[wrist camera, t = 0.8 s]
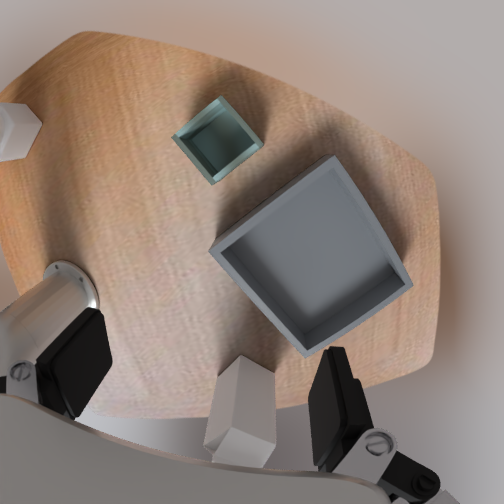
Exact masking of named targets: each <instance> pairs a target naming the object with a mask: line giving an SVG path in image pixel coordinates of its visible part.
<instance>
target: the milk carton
mask: <svg viewBox="0 0 504 504" xmlns="http://www.w3.org/2000/svg"><path fill="white" fill-rule="evenodd" d="M275 446H276V403H275V374H274V373H273V372H271V371H269V370H267V369H266V368H264V367H262V366H260V365H258V364H257V363H255V362H253V361H251V360H249V359H248V358H246V357H244V356H242V355H240V356H239V357H238V358H237V359H236V360H235V361H234V362H233V363H232V364H231V365H230V366H229V367H228V368H227V369H226V370H225V371H224V372H223V373H222V374H221V375H220V376H219V377H218V378H217V381H216V386H215V391H214V395H213V400H212V405H211V410H210V415H209V420H208V425H207V430H206V435H205V440H204V445H203V447H205V448H206V449H207V450H208V451H209V452H210V453H211V454H213V458H212V462H216V463H222V464H229V465H236V466H244V467H254V468H262V467H263V466H264V464H265V463H266V461H267V459H268V458H269V456H270V455H271V453H272V452H273V450H274V448H275Z"/></svg>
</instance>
